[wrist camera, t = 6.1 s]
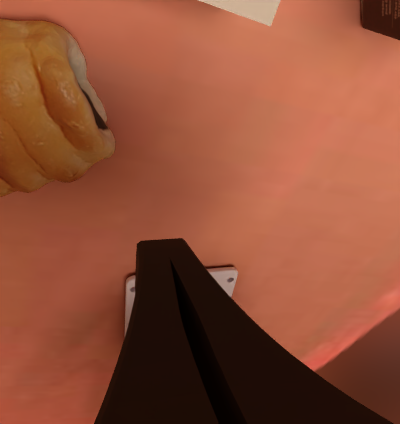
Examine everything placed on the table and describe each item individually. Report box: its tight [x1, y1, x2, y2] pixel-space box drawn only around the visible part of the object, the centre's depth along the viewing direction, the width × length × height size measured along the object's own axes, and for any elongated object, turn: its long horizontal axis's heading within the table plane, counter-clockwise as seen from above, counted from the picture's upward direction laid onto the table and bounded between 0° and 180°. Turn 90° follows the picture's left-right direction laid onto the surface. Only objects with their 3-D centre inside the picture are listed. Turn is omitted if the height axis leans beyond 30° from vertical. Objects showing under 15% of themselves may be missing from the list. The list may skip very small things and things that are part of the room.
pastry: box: [0, 19, 116, 197], centre depth 14 cm, size 9×7×4 cm
